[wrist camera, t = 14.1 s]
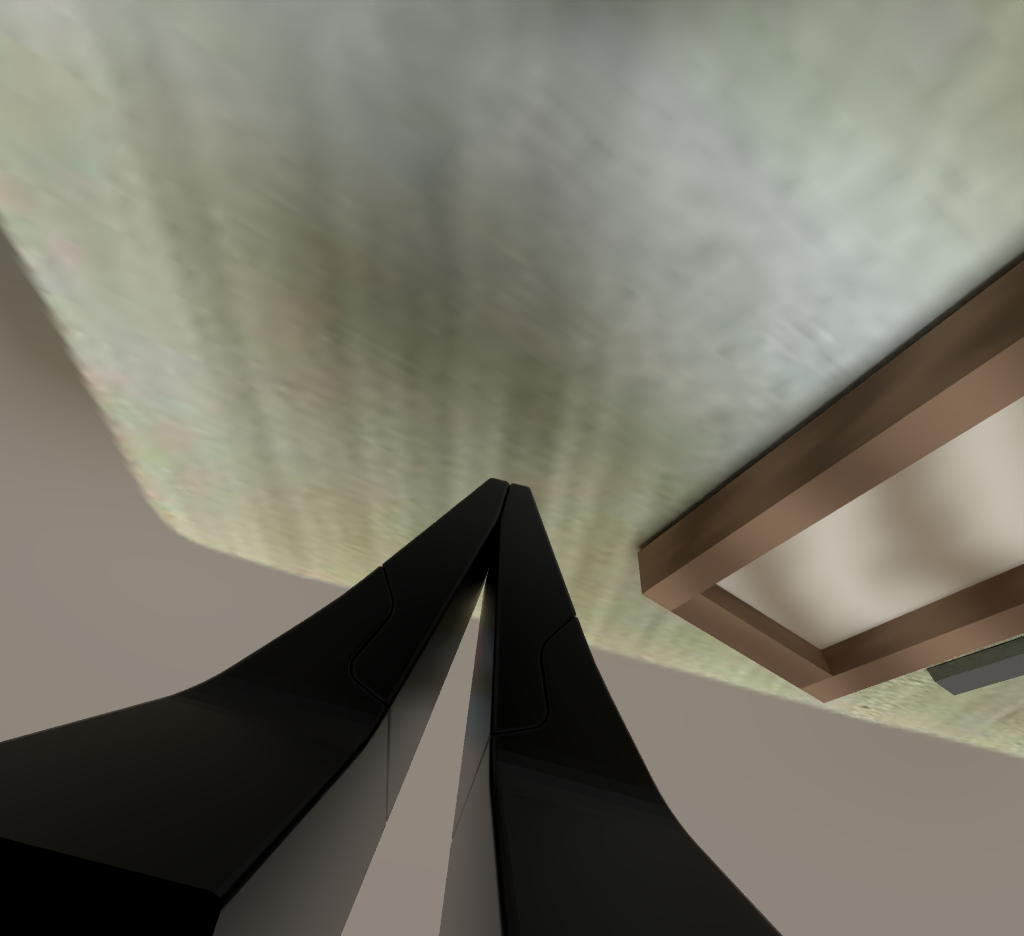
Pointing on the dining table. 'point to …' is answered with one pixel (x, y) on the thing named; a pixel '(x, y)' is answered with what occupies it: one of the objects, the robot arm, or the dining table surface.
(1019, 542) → the picture frame
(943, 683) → the strip
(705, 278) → the dining table surface
